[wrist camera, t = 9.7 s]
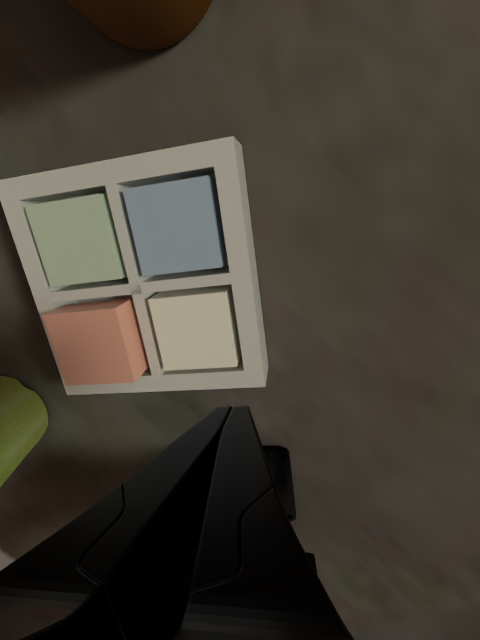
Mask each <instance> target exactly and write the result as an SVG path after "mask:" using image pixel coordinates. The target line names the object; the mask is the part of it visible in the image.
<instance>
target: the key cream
mask: <svg viewBox="0 0 480 640" xmlns="http://www.w3.org/2000/svg"><path fill="white" fill-rule="evenodd" d="M148 302H149V307H150V311H151V315H152V319H153V324H154V328H155V332H156V337H157V341H158V345H159V350H160V354H161V358H162V363H163V367H164V371H170V370H189V369H207V368H226V367H237V365H238V362H239V359H240V357H241V354H242V353H241V346H240V339H239V333H238V326H237V319H236V312H235V306H234V299H233V292H232V285H231V284H228V285H219V286H209V287H199V288H189V289H180V290H170V291H160V292H159V293H157V294H156V295H154V296H153V297H151V298H150V299H148Z"/></svg>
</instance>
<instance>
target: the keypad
mask: <svg viewBox="0 0 480 640" xmlns="http://www.w3.org/2000/svg"><path fill="white" fill-rule="evenodd" d="M206 175H208V176H211V177H214V178H216V184H217V191H218V197H219V204H220V211H221V218H222V224H223V231H224V238H225V245H226V252H227V258H228V262H227V263H226V264H225V265H224V266H223V267H222V268H213V269H204V270H195V271H187V272H178V273H169V274H160V275H151V276H142V272H141V268H140V264H139V259H138V255H137V251H136V246H135V242H134V238H133V234H132V229H131V225H130V221H129V216H128V212H127V208H126V203H125V199H124V195H123V189H129V188H135V187H141V186H147V185H153V184H159V183H165V182H171V181H177V180H183V179H189V178H194V177H200V176H206ZM94 194H107V196H108V200H109V204H110V208H111V212H112V216H113V220H114V224H115V228H116V233H117V237H118V241H119V245H120V249H121V253H122V257H123V261H124V265H125V269H126V273H127V276H126V277H124V278H122V279H116V280H107V281H98V282H89V283H80V284H71V285H62V286H54V287H50V284H49V281H48V278H47V275H46V272H45V269H44V266H43V263H42V260H41V256H40V253H39V250H38V247H37V244H36V241H35V238H34V235H33V232H32V229H31V226H30V223H29V219H28V216H27V213H26V210H25V207H24V206H28V205H34V204H40V203H46V202H52V201H58V200H64V199H70V198H76V197H82V196H88V195H94ZM0 201H1V204H2V207H3V210H4V213H5V216H6V219H7V222H8V225H9V228H10V231H11V233H12V236H13V239H14V242H15V245H16V248H17V251H18V254H19V257H20V260H21V262H22V265H23V268H24V271H25V274H26V277H27V280H28V283H29V286H30V289H31V292H32V294H33V297H34V300H35V303H36V306H37V309H38V312H39V315H40V318H41V321H42V324H43V326H44V329H45V332H46V335H47V338H48V341H49V344H50V347H51V350H52V353H53V356H54V358H55V361H56V364H57V367H58V370H59V373H60V376H61V379H62V382H63V385H64V387H65V390H66V393H67V395H83V394H107V393H131V392H155V391H179V390H203V389H227V388H251V387H265V386H266V379H267V373H268V367H269V366H268V357H267V349H266V341H265V333H264V325H263V316H262V308H261V300H260V292H259V283H258V275H257V267H256V259H255V250H254V242H253V234H252V226H251V218H250V209H249V201H248V193H247V185H246V176H245V168H244V160H243V152H242V145H241V144H240V143H239V142H238V141H237V140H236V139H235V137H234V136H231V137H226V138H221V139H215V140H210V141H205V142H199V143H194V144H189V145H184V146H178V147H173V148H168V149H162V150H157V151H152V152H146V153H141V154H136V155H131V156H125V157H120V158H115V159H109V160H104V161H99V162H94V163H88V164H83V165H78V166H72V167H67V168H62V169H56V170H51V171H46V172H41V173H35V174H30V175H25V176H19V177H14V178H9V179H3V180H0ZM228 284H231V285H232V292H233V299H234V306H235V312H236V319H237V326H238V333H239V339H240V346H241V353H242V354H241V357H240V359H239V362H238V365H237V367H226V368H207V369H189V370H170V371H164V367H163V363H162V358H161V354H160V350H159V345H158V341H157V337H156V332H155V328H154V324H153V319H152V315H151V311H150V307H149V302H148V299H150V298H151V297H153V296H154V295H156V294H157V293H159V292H160V291H170V290H180V289H189V288H199V287H209V286H219V285H228ZM129 298H133V303H134V307H135V311H136V315H137V319H138V323H139V327H140V331H141V335H142V339H143V343H144V347H145V351H146V355H147V359H148V363H149V367H148V368H147V369H146V370H145V372H144V373H143V374H142V375H141V376H140V377H139V378H138V379H137V381H136V382H135V383H114V384H93V385H72V386H66V384H65V381H64V378H63V375H62V372H61V369H60V366H59V363H58V360H57V357H56V354H55V351H54V348H53V346H52V343H51V340H50V337H49V334H48V331H47V328H46V325H45V322H44V319H43V316H42V315H44V314H46V313H48V312H51V311H53V310H55V309H57V308H60V307H62V306H64V305H69V304H79V303H89V302H99V301H109V300H119V299H129Z"/></svg>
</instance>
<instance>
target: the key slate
mask: <svg viewBox="0 0 480 640" xmlns="http://www.w3.org/2000/svg"><path fill="white" fill-rule="evenodd" d="M123 195H124V199H125V203H126V208H127V212H128V216H129V221H130V225H131V229H132V234H133V238H134V242H135V246H136V251H137V255H138V259H139V264H140V268H141V272H142V276H151V275H160V274H169V273H178V272H187V271H195V270H204V269H213V268H222V267H223V266H224V265H225V264H226V263H227V262H228V258H227V252H226V245H225V238H224V231H223V224H222V218H221V211H220V204H219V197H218V191H217V184H216V178H214V177H211V176H208V175H206V176H200V177H194V178H189V179H183V180H177V181H171V182H165V183H159V184H153V185H147V186H141V187H135V188H129V189H123Z"/></svg>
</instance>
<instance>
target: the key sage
mask: <svg viewBox="0 0 480 640" xmlns="http://www.w3.org/2000/svg"><path fill="white" fill-rule="evenodd" d="M24 207H25V210H26V213H27V216H28V219H29V223H30V226H31V229H32V232H33V235H34V238H35V241H36V244H37V247H38V250H39V253H40V256H41V260H42V263H43V266H44V269H45V272H46V275H47V278H48V281H49V284H50V287H54V286H62V285H71V284H80V283H89V282H98V281H107V280H116V279H122V278H124V277H126V276H127V273H126V269H125V265H124V261H123V257H122V253H121V249H120V245H119V241H118V237H117V233H116V228H115V224H114V220H113V216H112V212H111V208H110V204H109V200H108V196H107V194H94V195H88V196H82V197H76V198H70V199H64V200H58V201H52V202H46V203H40V204H34V205H28V206H24Z"/></svg>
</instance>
